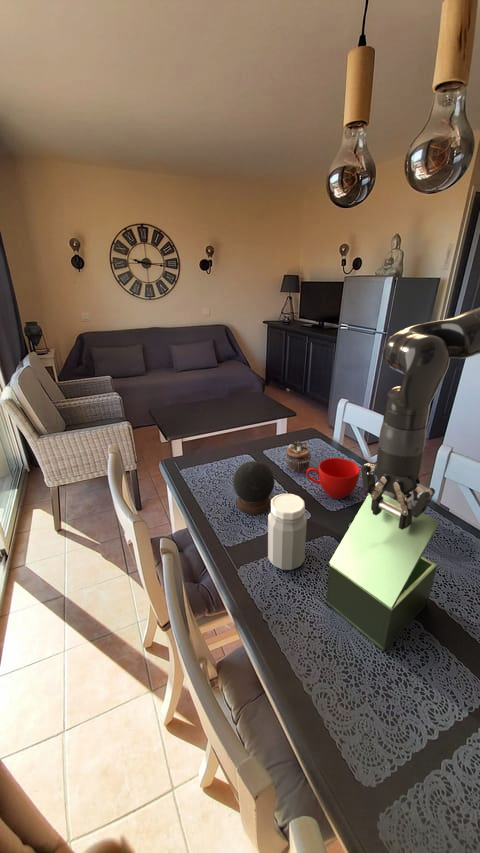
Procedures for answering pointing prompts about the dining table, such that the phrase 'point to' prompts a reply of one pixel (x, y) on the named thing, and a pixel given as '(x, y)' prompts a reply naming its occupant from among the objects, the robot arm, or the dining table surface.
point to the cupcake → (298, 457)
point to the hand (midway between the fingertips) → (389, 519)
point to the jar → (287, 532)
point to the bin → (380, 604)
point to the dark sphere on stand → (253, 487)
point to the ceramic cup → (336, 476)
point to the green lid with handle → (383, 549)
